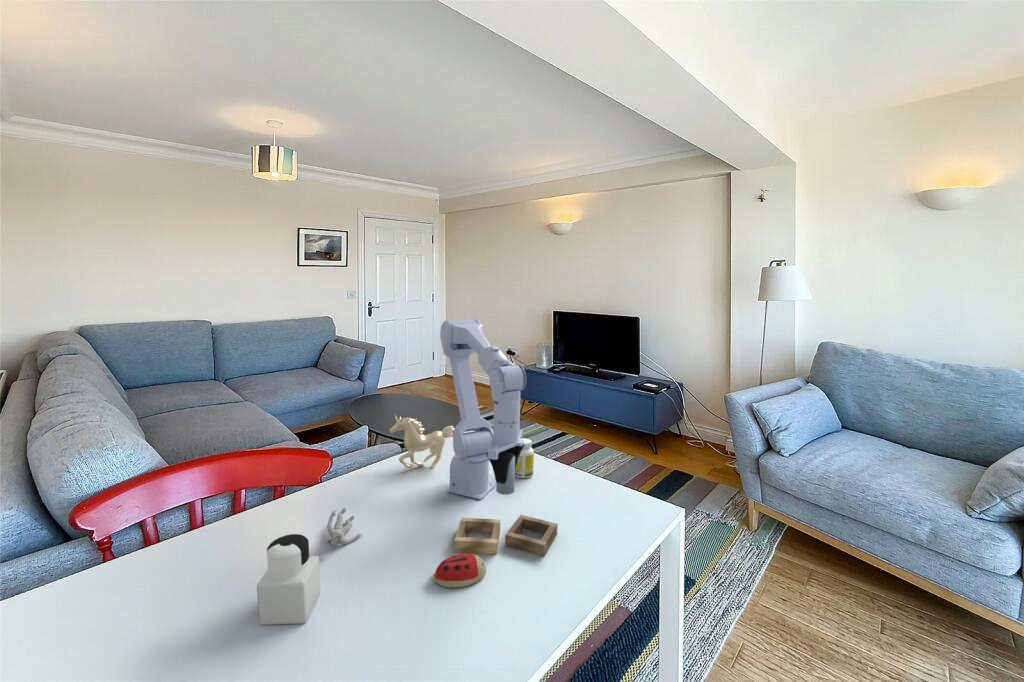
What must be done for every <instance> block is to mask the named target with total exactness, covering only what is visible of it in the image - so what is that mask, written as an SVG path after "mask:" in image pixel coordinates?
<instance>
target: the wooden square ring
mask: <svg viewBox="0 0 1024 682" xmlns="http://www.w3.org/2000/svg"><path fill="white" fill-rule="evenodd" d="M523 529H526V530H525V531H528V530H530V531H529V532H532V531H533V532H532V533H536V532H537V534H540V533H541V535H543V534H544V535H543V536H542V538H540V539H537V538H533V537H530V536H525V535H523V534H522V532H523ZM520 533H521V534H520ZM557 536H558V523H557V522H552V521H547V520H545V519H539V518H536V517H532V516H529V515H528V516H527V515H525V514H520V515H519V516H518V517H517V518H516V520H515V522H513V524H512V525H511V527H510V528H509V529H508V530H507V532H505V535H504V546H505V547H507V548H508V547H509V548H511V549H515V550H518V549H519V550H518V551H522V552H525V553H529V554H532V555H535V556H539V557H543V558H545V557H546V554H547V553H548V551H549V550H550V547H551V546H552V544H553V542H554V541H555V539H556V538H557Z"/></svg>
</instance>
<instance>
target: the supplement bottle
mask: <svg viewBox="0 0 1024 682" xmlns="http://www.w3.org/2000/svg"><path fill="white" fill-rule="evenodd" d="M520 440H524V447H523V449H522V451H521V453H520V455H519V458H518V461H517V465H516V469H515V478H516V477H517V478H519V479H529V478H531V477H533V475H534V458H535V456H534V455H535V451H534V449H533V447H532V445H533V444H532V443H533V442H532V440H531V439H529V438H525V437H524V438H523V437H522V438H521V439H520Z"/></svg>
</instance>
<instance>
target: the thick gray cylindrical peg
mask: <svg viewBox="0 0 1024 682" xmlns="http://www.w3.org/2000/svg"><path fill="white" fill-rule="evenodd" d="M506 454H510V455H513V458H512V460H511V462H510V465H509V469H508V476H507V481H506V483H505V484H501V483H497V482H496V484H495V485H496V487H495V488H496V489H495V490H496V492H497V493H498V494H500V495H504V496H505V495H512V494H513V493H514V492H515V479H516V476H515V455H514V454H511V453H506Z"/></svg>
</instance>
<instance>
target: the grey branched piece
mask: <svg viewBox="0 0 1024 682" xmlns="http://www.w3.org/2000/svg"><path fill="white" fill-rule="evenodd" d="M346 511H347V508H345V507H344V508H342V510H341V511H340V512H338V514H336V513H337V510H333V511H332V512H331V515H330V516H329V518H328V522H327V525H326V528H327V532H328V535H329V537H330V539H327V540H326V541H325V542H326V543H328V544H329V545H330V546H332V548H333V550H336V548H337V547H338V545H346V546H347V545H349V544H352V543H353V542H354V541H357V539H359V538H361V536H362V533H361V532H359V533H358V534H356V536H353V537H350V538H348V539H346V538H345V536H346V534H347V533H348V532H349V531H350V529H352V526H353V523H352V522H353V520H354V519H355V516H354V515H351V516H350V517H349V518H348V519H346V520H345V521H344V522H345V525H344V526H342V525H343V516H342V515H344V514H345V513H346ZM336 515H337V517H336V520H335V524H334V526H333V520H334V519H333V518H334V517H335V516H336ZM332 526H333V527H332Z"/></svg>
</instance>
